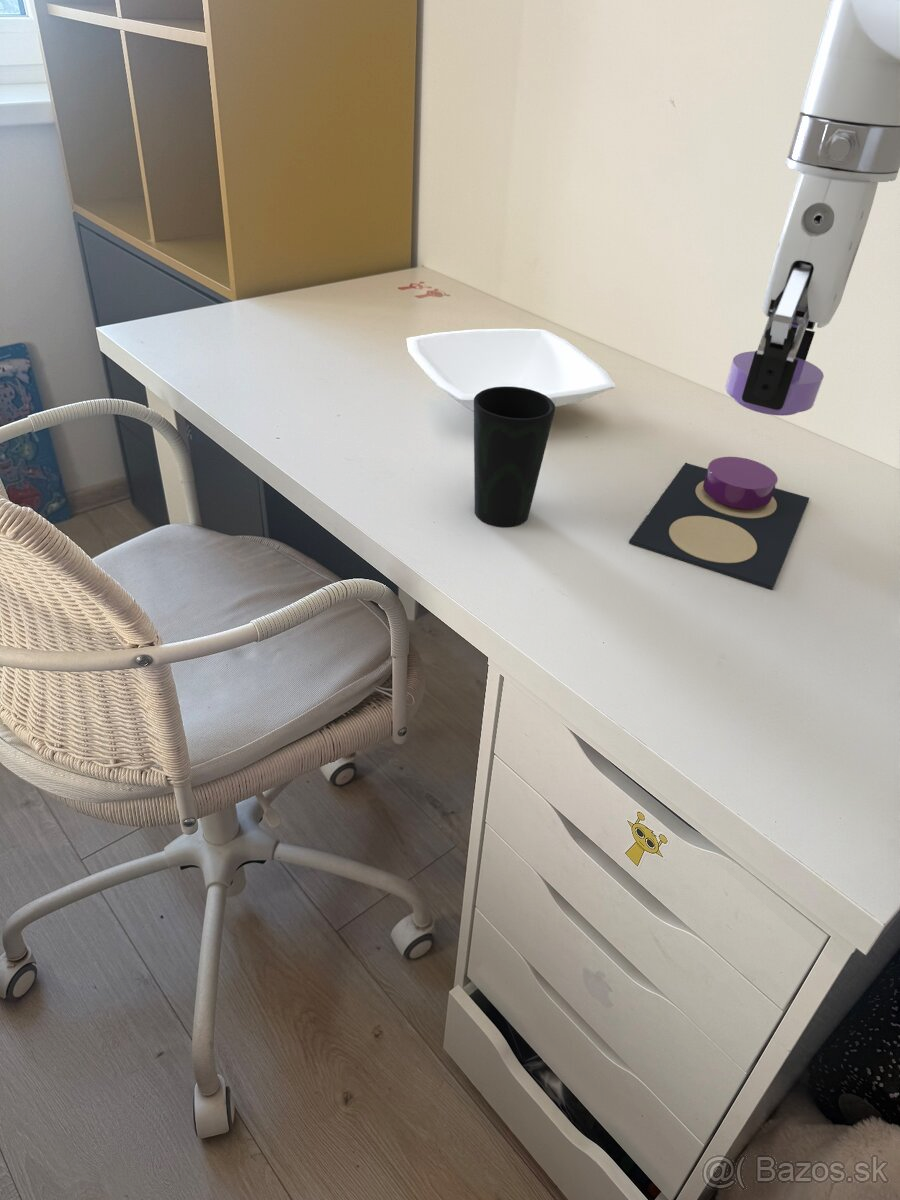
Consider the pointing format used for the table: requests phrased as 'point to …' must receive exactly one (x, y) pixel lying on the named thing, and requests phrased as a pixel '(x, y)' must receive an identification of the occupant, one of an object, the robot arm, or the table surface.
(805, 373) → the lavender short cylinder
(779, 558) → the placemat
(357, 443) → the table surface
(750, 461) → the purple short cylinder
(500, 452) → the cup
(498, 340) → the bowl
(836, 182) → the robot arm
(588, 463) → the table surface
